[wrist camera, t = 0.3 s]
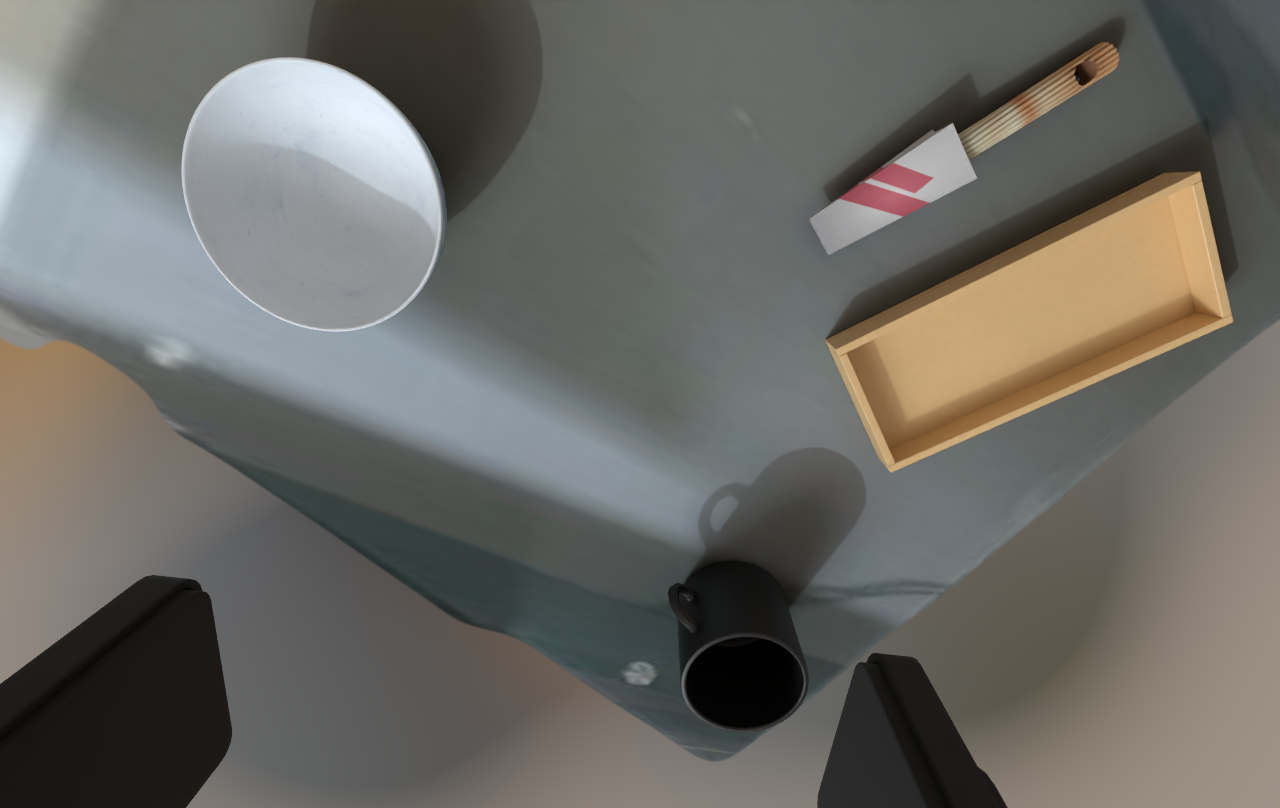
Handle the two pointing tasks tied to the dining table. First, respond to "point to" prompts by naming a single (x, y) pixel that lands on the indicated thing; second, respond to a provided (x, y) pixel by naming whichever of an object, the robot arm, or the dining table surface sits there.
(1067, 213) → the dining table surface
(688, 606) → the mug
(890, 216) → the folding fan
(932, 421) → the brush tray
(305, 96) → the chinaware
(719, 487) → the dining table surface
